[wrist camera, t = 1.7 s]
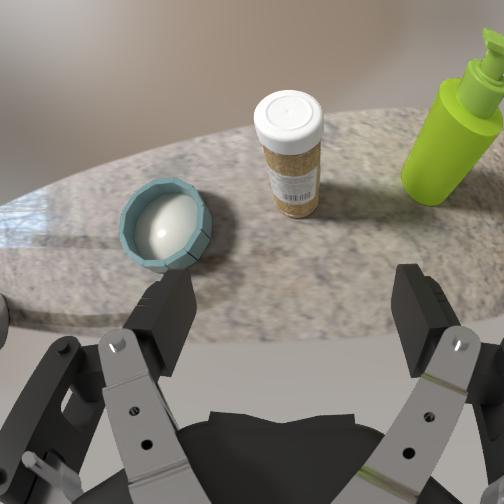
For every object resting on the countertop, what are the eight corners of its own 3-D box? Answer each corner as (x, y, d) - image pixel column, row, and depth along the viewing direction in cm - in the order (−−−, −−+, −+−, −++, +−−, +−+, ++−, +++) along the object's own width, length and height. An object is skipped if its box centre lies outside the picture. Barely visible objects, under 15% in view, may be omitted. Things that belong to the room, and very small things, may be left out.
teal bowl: (180, 289, 31) (168, 284, 28) (119, 247, 33) (104, 239, 30) (228, 211, 32) (221, 199, 29) (163, 179, 34) (152, 166, 32)
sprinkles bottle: (322, 183, 31) (328, 92, 18) (313, 224, 30) (318, 145, 17) (279, 175, 32) (262, 84, 19) (268, 214, 31) (244, 133, 18)
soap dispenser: (453, 217, 28) (562, 98, 9) (396, 195, 30) (470, 44, 11) (458, 172, 29) (541, 47, 10) (405, 151, 31) (460, 4, 12)
